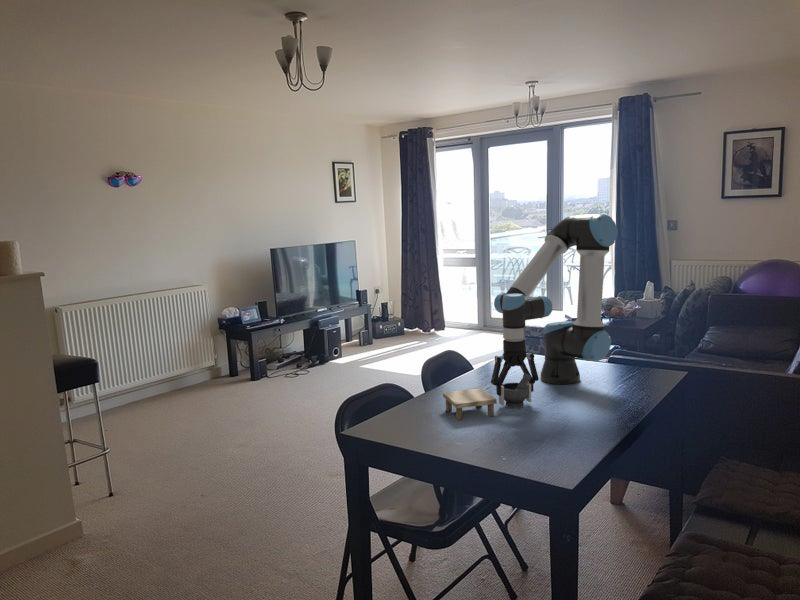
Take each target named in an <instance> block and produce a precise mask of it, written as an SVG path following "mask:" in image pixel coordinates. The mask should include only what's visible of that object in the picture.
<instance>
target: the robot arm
mask: <svg viewBox="0 0 800 600" xmlns="http://www.w3.org/2000/svg"><path fill="white" fill-rule="evenodd" d="M617 238H618V227H617V224H616V221H614V219H613V218H612V216H610V215H608V214H605V213H603V214H602V213H590V214H572V215H570V216H567V217H565V218H563V219H562V220H560V222H558V223H557V224H556V225H555V226H553V228H552V229H550V231H549V232H548V233H547V234H546V236H545V237H544V243H543V244H542V246H541V247H540V248H539V250H538V251H537V252H536V253H535V255H533V257H532V259H531V260H530V261H529V262H528V264H527V265H526V267H525V268H524V269H523V270H522V271H521V273H520V274H519V276H518V277H517V278H516V280H515V281H514V282H513V284H512V285H511V286H510V287H509V289H508V290H507V291H506V292H504V293H502V292H501V293H499V294H497V295H495V296H496V297H494V301H493V305H494V309H495V310H496V311H497V312H498V313H500V314H502V338H503V340H502V342H503V343H502V344H503V345H502V346H503V347H502V349H503V353H502V355H499V356H498V355H495V356H494V366H493V370H492V371H493V372H492V375H491V379H490V383H491V385H493V386H496V387H495V388H496V392H495V393H496V395H497V396H498V404H499V405H501V406H505V400H504V387H503V386H502V384H504V382H505V380H506V377H507V376H508V373H509V371H510V370H511V368H512V367H520V369H521V371H522V373H523V375H524V374H525V373H526V374H529V375H530V376H531V379H530V380H529V381H528V383H527V385H528V386H529V391H528V395H527V397H526V399H525V401H527V402H528V403H532V393H533V392H534V385H535V383H536V382H538V381H539V380H540V381H542V382H544V383H548V384H553V385H571V384H572V385H573V384H576V383H578V382H580V381H581V373H580V371H579V367H578V365H577V362H576V359H581V360H585V361H586V362H587V361H588V362H589V361H591V362H599V361H601V360H603V359H604V358H605V357H606V356H607V355H608V353H609V351H610V349H611V345H612V338H611V336H610V334H609V333H608V331H605V330H606V329H605V328H606V324H605V323H604V322H603V321H602V309H603V308H602V307H603V289H604V273H605V270H604V269H605V258H606V257H605V256H606V255H607V254H608V253H609V252H610V247H611V246H613V245H614V244H615V243H616V241H617ZM574 246H575V247H576V252H577V253H578V254H579V257H580V258H579V269H578V270H579V273H578V275H579V276H578V292H577V294H578V295H577V308H576V309H577V312H576V314H577V315H576V319H575V320H574V321H571V320H567V321H566V320H565V321H554V322H550V323H547V324H545V326H544V331H543V332H544V333H543V339H544V340H543V341H544V361H543V364H542V368H541V371H540V379H539V375H538V370H537V368H536V363H535V354H534V353H532V352H526V347H527V346H526V345H527V344H526V321H530V320H536V319H543V318H546V317H549V316H550V315H551V314H552V312H553V303H552V301H551V298H549V297H548V296H546V295H543V296H542V295H537V296H531V295H532V293H533V291H534V290H535V289H537V286H538V285H539V284H540V283H541V281H542V280H543V279H544V278H545V276H546V275H547V274H548V273H549V270H550V269H551V268H552V267H553V265H554V264H555V263H556V261H557V260H558V259H559V258H560V257H561V255H563V254H565V253H566V252H567V251H568V250H569V249H570V248H573V247H574ZM526 359H527V362H528V366H529V369H528V367H527V365H526V363H525V360H526ZM503 361H504V363H503ZM502 363H503V365H502ZM501 367H502V369H501ZM529 370H530V371H529Z"/></svg>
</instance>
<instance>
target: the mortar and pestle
mask: <svg viewBox="0 0 800 600" xmlns="http://www.w3.org/2000/svg"><path fill="white" fill-rule="evenodd" d="M530 375H531V374H530ZM530 375H529V374H526V373H525V374H524V373H523V375H522V378H520V379H521V380H520V381H519V382H506V383H503V384H502V386H503V387H504V402H505V407H506V408H509V409H520V408H523V407H524V401H526V397H527V395H528V391H529V386H528V385H527V383H528V381H529V380H530V379H531V376H532V375H531V376H530Z"/></svg>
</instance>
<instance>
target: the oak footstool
mask: <svg viewBox="0 0 800 600" xmlns="http://www.w3.org/2000/svg"><path fill="white" fill-rule="evenodd" d="M442 397H443V398H444V400H445V411H446V410H447V412H451V411H452V410H453V407H454V408H455V413H456V414H455V416H456V417H455V418H456V421H457V422H462V421H463V419H464V417H463V409H464V408H472V407H473V408H474V407H477V408H482V407H483V406H487V416H488V417H490V418H492V417H495V411H494V410H495V404H498V403H497V402H498V401H497V398H496V397H494V396H493V395H491V394H490V393H488V392H487V391H486V390H485V389H483V388H482V387H479V388H471V389H469V388H468V389H460V390H454V391H453V390H452V391H445V392H442ZM448 410H449V411H448ZM450 410H451V411H450Z"/></svg>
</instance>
